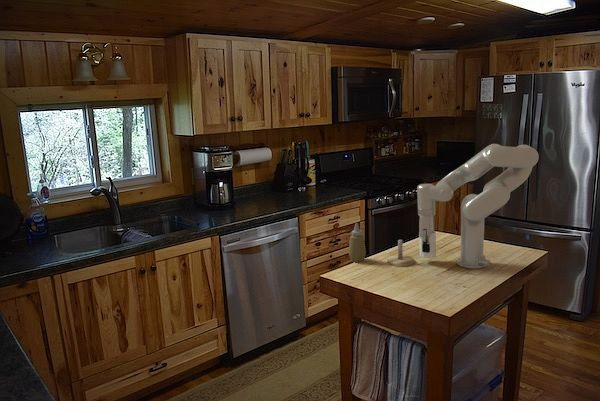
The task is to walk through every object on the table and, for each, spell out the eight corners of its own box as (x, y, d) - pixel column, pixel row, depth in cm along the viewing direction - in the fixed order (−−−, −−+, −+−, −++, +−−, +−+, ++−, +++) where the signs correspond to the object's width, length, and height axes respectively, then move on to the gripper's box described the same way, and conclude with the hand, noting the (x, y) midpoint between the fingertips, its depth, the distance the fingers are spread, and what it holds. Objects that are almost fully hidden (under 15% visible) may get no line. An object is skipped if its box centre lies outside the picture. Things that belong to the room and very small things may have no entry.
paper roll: (439, 255, 218) (438, 231, 215) (428, 258, 214) (428, 235, 212) (427, 251, 223) (426, 229, 221) (416, 255, 219) (416, 232, 217)
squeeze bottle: (368, 259, 228) (368, 222, 224) (361, 264, 221) (360, 226, 217) (353, 256, 232) (352, 220, 228) (345, 261, 225) (344, 224, 222)
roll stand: (419, 262, 220) (419, 240, 218) (400, 268, 213) (400, 245, 211) (399, 256, 230) (399, 235, 228) (381, 261, 223) (381, 240, 221)
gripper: (421, 207, 224) (423, 243, 227) (414, 216, 208) (415, 255, 212) (438, 207, 221) (439, 244, 224) (431, 216, 205) (432, 256, 209)
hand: (427, 249), depth 218 cm, fingers closed on paper roll, 7 cm apart
